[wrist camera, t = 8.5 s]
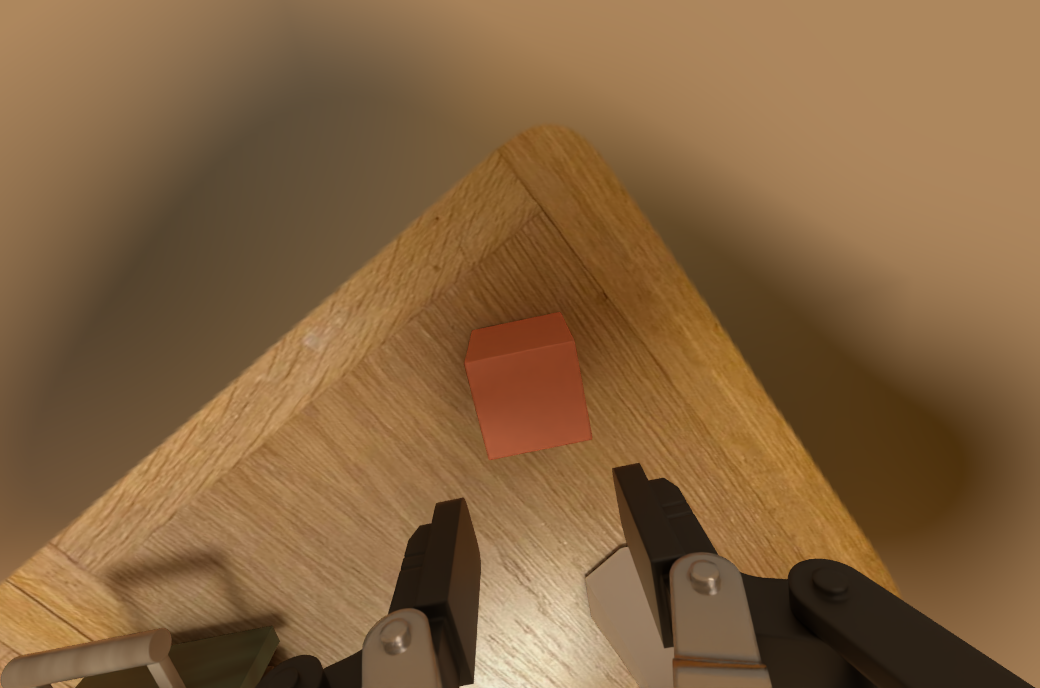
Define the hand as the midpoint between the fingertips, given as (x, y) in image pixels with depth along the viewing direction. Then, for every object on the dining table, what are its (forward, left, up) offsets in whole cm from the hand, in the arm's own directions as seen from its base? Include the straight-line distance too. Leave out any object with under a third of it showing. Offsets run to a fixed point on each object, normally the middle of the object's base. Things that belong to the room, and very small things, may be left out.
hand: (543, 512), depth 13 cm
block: (0, 0, -12) cm, 12 cm away
